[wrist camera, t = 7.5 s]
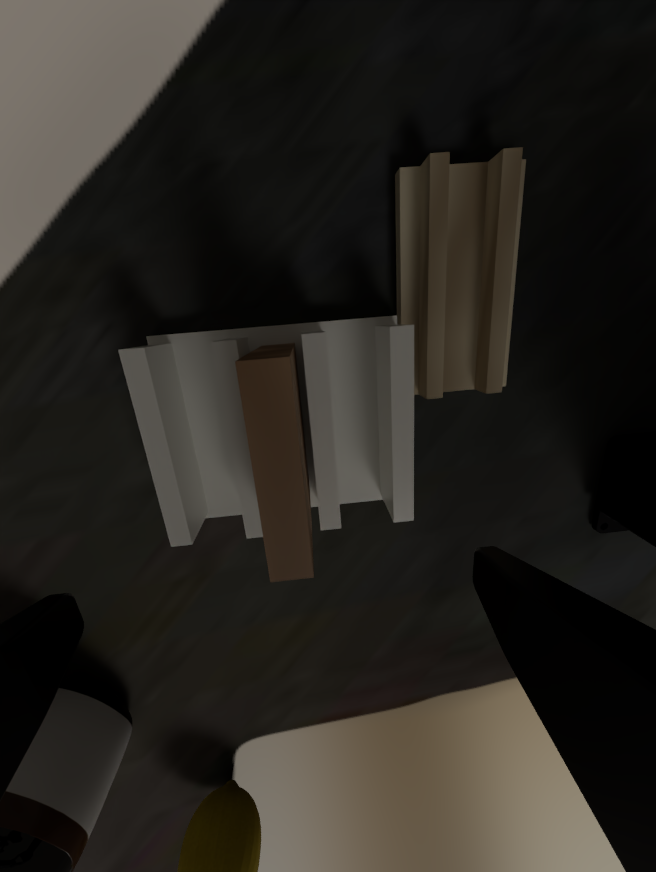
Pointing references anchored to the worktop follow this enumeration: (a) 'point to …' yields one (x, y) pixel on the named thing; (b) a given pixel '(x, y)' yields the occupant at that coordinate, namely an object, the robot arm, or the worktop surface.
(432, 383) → the stand
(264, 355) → the board
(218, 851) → the lemon
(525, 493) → the worktop surface
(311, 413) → the rack
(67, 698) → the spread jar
